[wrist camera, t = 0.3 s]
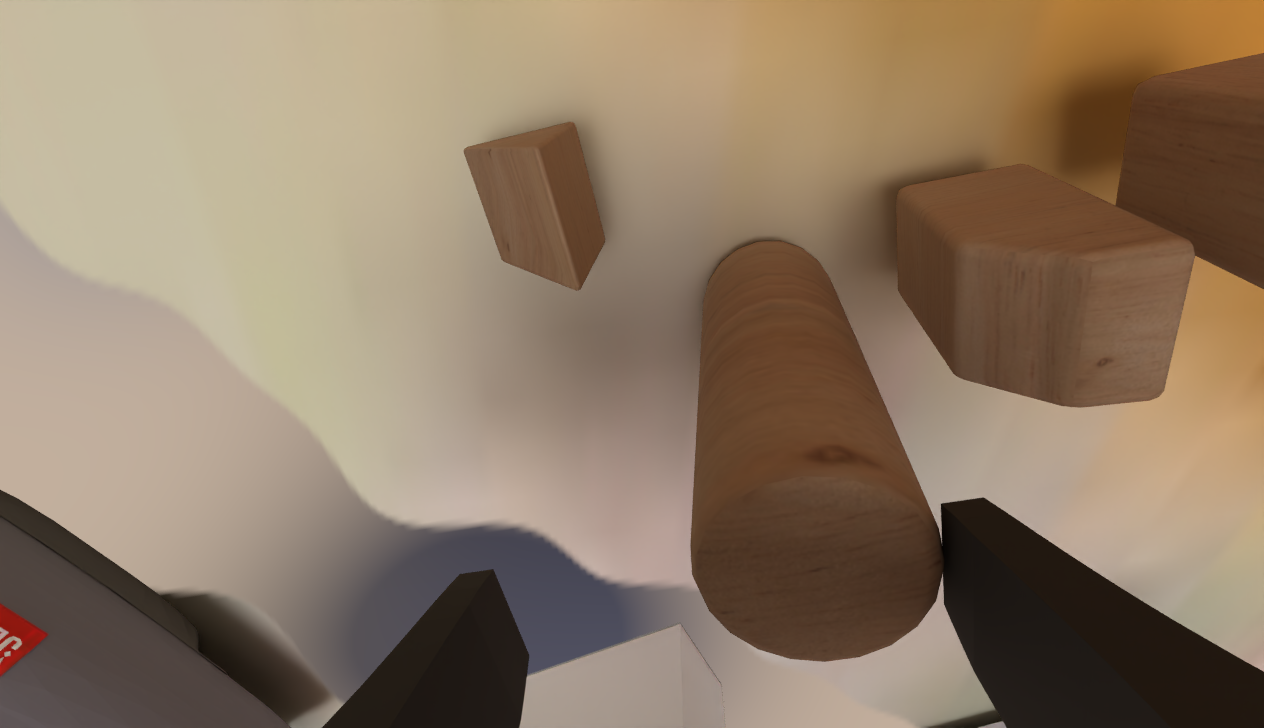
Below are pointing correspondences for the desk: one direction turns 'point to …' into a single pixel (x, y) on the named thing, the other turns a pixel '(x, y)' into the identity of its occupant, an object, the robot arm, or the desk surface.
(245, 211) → the desk surface
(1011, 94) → the desk surface
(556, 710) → the brick
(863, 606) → the wooden block set
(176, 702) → the bluetooth speaker
